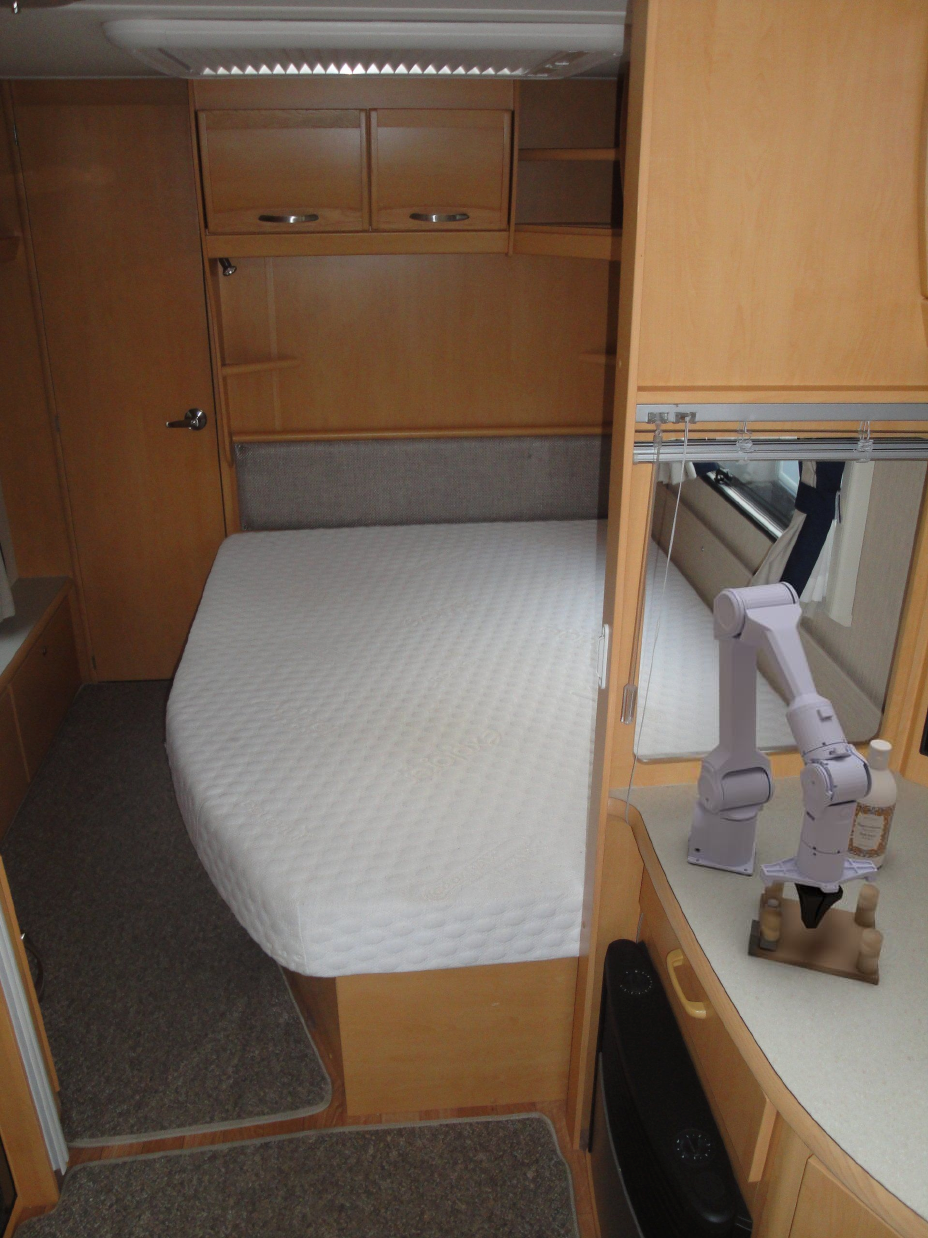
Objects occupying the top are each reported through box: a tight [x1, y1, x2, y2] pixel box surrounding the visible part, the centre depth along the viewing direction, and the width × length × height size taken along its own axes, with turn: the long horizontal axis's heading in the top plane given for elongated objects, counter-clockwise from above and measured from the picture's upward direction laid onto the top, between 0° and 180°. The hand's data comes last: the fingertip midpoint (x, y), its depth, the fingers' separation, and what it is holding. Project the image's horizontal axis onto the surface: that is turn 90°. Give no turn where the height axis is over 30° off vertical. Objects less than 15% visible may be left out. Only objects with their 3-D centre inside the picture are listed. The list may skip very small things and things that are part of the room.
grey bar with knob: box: [760, 899, 783, 951], centre depth 125 cm, size 8×2×5 cm, turn 159°
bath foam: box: [846, 739, 898, 869], centre depth 138 cm, size 7×7×20 cm
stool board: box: [747, 882, 884, 986], centre depth 125 cm, size 16×12×6 cm
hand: (808, 923), depth 123 cm, fingers closed
